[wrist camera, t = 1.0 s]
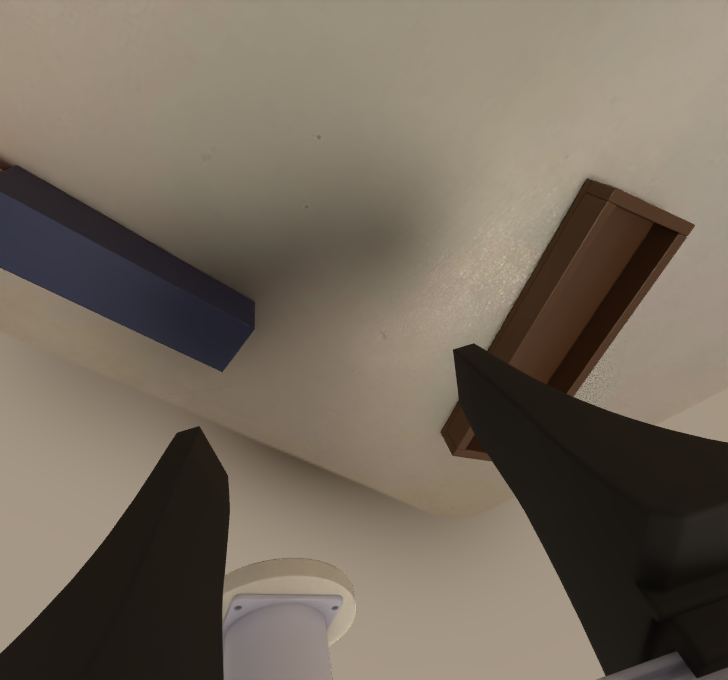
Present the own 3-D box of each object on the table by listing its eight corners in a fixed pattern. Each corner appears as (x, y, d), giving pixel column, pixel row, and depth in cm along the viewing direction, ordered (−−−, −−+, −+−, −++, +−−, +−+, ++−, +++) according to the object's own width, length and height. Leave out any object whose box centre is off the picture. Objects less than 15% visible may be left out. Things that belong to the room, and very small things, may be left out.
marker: (255, 301, 21) (255, 329, 19) (225, 342, 22) (222, 372, 19) (-64, 119, 15) (-118, 127, 13) (-89, 182, 16) (-144, 200, 14)
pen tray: (509, 444, 30) (524, 466, 28) (440, 433, 28) (452, 456, 26) (663, 213, 23) (695, 225, 21) (587, 178, 21) (615, 187, 19)
